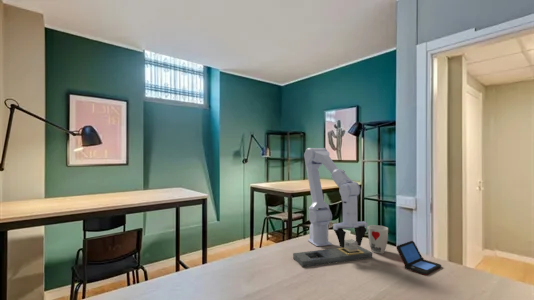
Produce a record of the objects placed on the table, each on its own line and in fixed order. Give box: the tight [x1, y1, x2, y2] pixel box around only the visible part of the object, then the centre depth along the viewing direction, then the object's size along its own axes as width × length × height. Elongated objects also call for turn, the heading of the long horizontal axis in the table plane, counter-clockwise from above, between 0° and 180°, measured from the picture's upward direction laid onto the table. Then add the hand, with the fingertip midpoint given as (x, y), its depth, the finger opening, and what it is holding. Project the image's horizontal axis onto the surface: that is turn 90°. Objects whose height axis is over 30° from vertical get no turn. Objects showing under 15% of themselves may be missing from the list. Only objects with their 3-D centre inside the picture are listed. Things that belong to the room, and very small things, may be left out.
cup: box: [367, 224, 389, 254], centre depth 118 cm, size 8×8×10 cm
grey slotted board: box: [292, 246, 373, 268], centre depth 111 cm, size 9×30×2 cm, turn 107°
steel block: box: [343, 238, 358, 253], centre depth 113 cm, size 4×4×6 cm
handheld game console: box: [396, 240, 442, 276], centre depth 102 cm, size 12×11×7 cm
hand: (350, 246), depth 113 cm, fingers open, 7 cm apart
